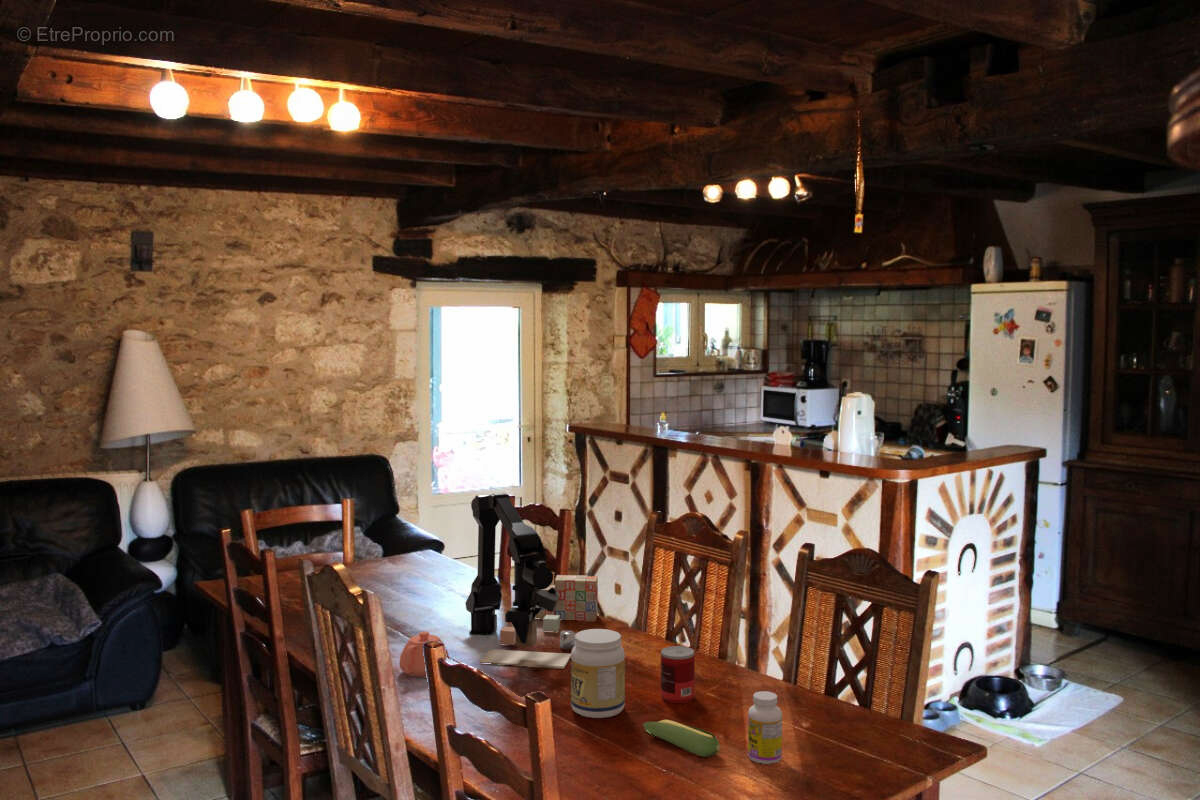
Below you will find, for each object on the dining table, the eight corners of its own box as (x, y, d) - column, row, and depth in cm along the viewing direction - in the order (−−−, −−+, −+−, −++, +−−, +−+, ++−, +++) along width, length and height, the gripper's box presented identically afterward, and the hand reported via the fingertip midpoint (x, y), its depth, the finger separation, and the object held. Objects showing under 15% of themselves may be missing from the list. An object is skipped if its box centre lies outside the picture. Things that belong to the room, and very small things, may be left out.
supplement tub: (562, 704, 223) (562, 630, 222) (611, 696, 228) (611, 624, 227) (583, 723, 212) (583, 646, 211) (634, 714, 217) (634, 639, 216)
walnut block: (515, 646, 252) (515, 623, 251) (519, 640, 256) (519, 618, 256) (532, 647, 251) (532, 624, 251) (536, 641, 255) (536, 619, 255)
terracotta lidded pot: (459, 668, 248) (458, 628, 247) (426, 686, 235) (426, 644, 234) (418, 662, 253) (418, 623, 252) (385, 679, 240) (384, 638, 239)
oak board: (479, 664, 251) (479, 661, 251) (490, 651, 260) (490, 649, 260) (563, 668, 247) (563, 666, 247) (571, 656, 257) (571, 653, 257)
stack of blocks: (524, 620, 290) (523, 579, 289) (527, 614, 296) (527, 573, 295) (596, 621, 288) (595, 580, 287) (598, 615, 294) (597, 575, 293)
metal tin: (558, 649, 262) (558, 634, 262) (561, 644, 266) (561, 630, 266) (573, 650, 262) (573, 635, 262) (576, 645, 266) (576, 631, 265)
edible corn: (710, 764, 192) (710, 742, 192) (636, 735, 207) (636, 713, 206) (726, 756, 196) (726, 734, 195) (653, 728, 210) (653, 707, 210)
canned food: (697, 693, 230) (697, 647, 229) (689, 705, 222) (689, 658, 221) (666, 689, 232) (666, 644, 231) (656, 701, 225) (657, 654, 224)
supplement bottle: (744, 752, 197) (744, 689, 197) (776, 750, 198) (777, 688, 197) (752, 766, 191) (752, 702, 190) (785, 765, 191) (786, 700, 190)
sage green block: (543, 632, 277) (543, 618, 277) (546, 628, 281) (546, 614, 281) (557, 633, 277) (557, 619, 277) (560, 629, 281) (559, 615, 280)
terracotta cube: (500, 645, 266) (500, 630, 266) (504, 640, 270) (503, 626, 270) (514, 646, 266) (514, 631, 265) (518, 641, 269) (518, 627, 269)
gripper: (548, 591, 242) (548, 653, 243) (563, 573, 260) (563, 630, 261) (504, 589, 244) (504, 651, 245) (522, 571, 262) (523, 628, 263)
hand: (525, 640), depth 253 cm, fingers closed on walnut block, 4 cm apart
